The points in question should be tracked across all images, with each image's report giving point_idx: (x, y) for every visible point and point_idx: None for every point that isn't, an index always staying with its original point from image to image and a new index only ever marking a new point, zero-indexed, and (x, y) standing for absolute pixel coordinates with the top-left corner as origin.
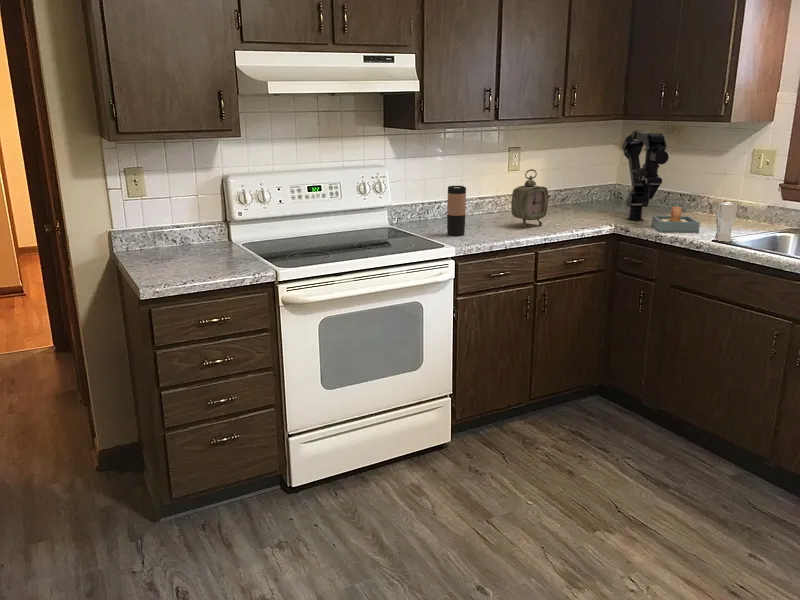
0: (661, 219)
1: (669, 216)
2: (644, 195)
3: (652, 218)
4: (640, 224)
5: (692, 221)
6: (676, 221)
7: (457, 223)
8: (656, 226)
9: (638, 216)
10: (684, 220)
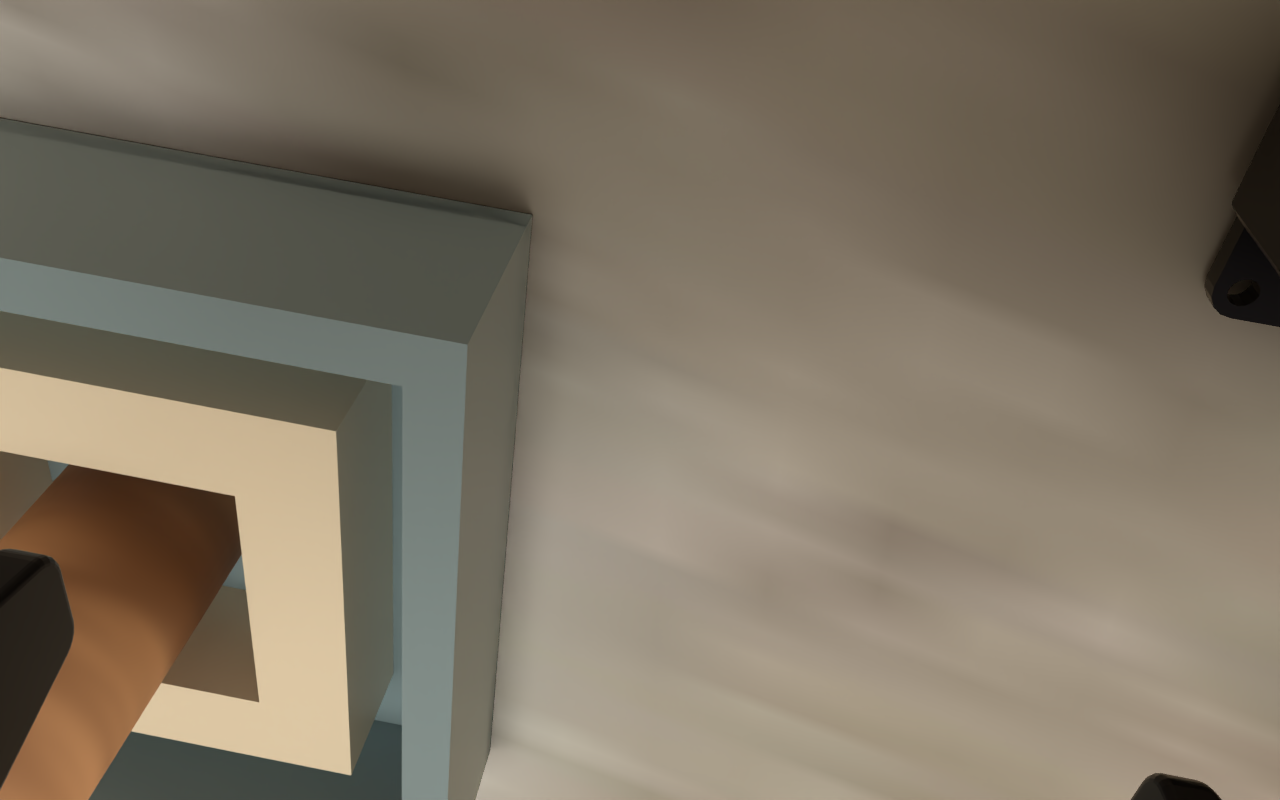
0: (267, 423)
1: (404, 644)
2: (1215, 797)
3: (451, 298)
4: (701, 4)
5: (125, 785)
6: None
7: None
8: (10, 154)
9: (1275, 198)
10: (237, 738)
